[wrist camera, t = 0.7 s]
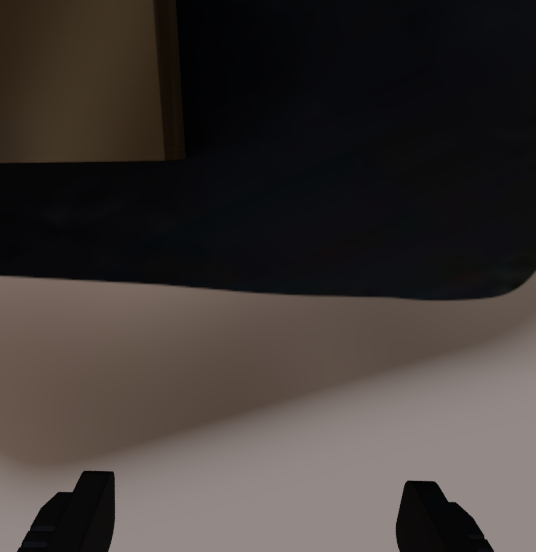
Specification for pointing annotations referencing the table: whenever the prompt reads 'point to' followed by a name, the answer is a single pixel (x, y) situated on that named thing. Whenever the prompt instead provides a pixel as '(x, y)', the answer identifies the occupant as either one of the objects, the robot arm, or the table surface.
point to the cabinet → (90, 81)
